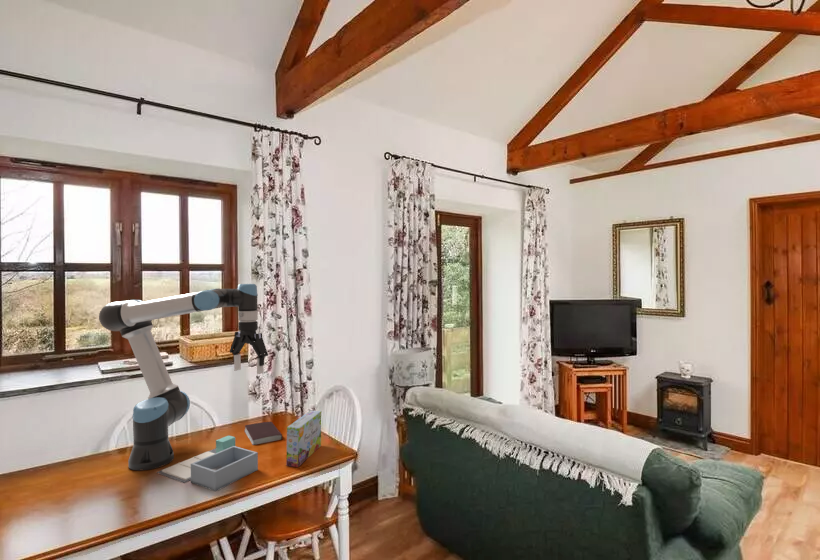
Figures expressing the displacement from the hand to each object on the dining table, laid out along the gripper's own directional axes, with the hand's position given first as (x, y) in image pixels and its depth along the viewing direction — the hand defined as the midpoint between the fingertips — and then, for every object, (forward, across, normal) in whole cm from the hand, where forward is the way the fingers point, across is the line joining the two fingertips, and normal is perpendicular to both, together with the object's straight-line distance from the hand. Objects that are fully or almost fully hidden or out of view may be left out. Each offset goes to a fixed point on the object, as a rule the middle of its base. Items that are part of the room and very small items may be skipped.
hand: (248, 371), depth 182 cm
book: (+32, -6, +12) cm, 35 cm away
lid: (+31, -3, -19) cm, 37 cm away
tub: (+32, +13, -22) cm, 41 cm away
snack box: (+32, +26, +5) cm, 42 cm away
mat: (+32, -3, -20) cm, 37 cm away
